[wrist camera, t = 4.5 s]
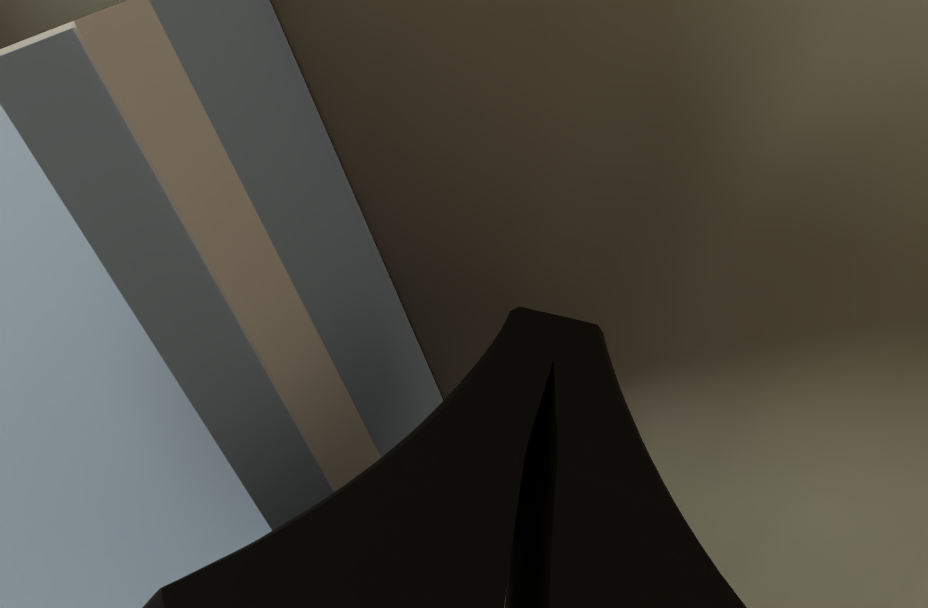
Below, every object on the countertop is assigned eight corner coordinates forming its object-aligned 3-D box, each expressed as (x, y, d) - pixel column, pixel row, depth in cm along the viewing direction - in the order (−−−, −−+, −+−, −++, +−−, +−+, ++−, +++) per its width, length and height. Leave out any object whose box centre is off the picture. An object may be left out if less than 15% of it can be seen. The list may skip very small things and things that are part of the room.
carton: (252, -49, 10) (-24, 58, 6) (455, 422, 14) (376, 688, 10) (-76, 79, 12) (-454, 225, 8) (180, 459, 16) (17, 691, 12)
